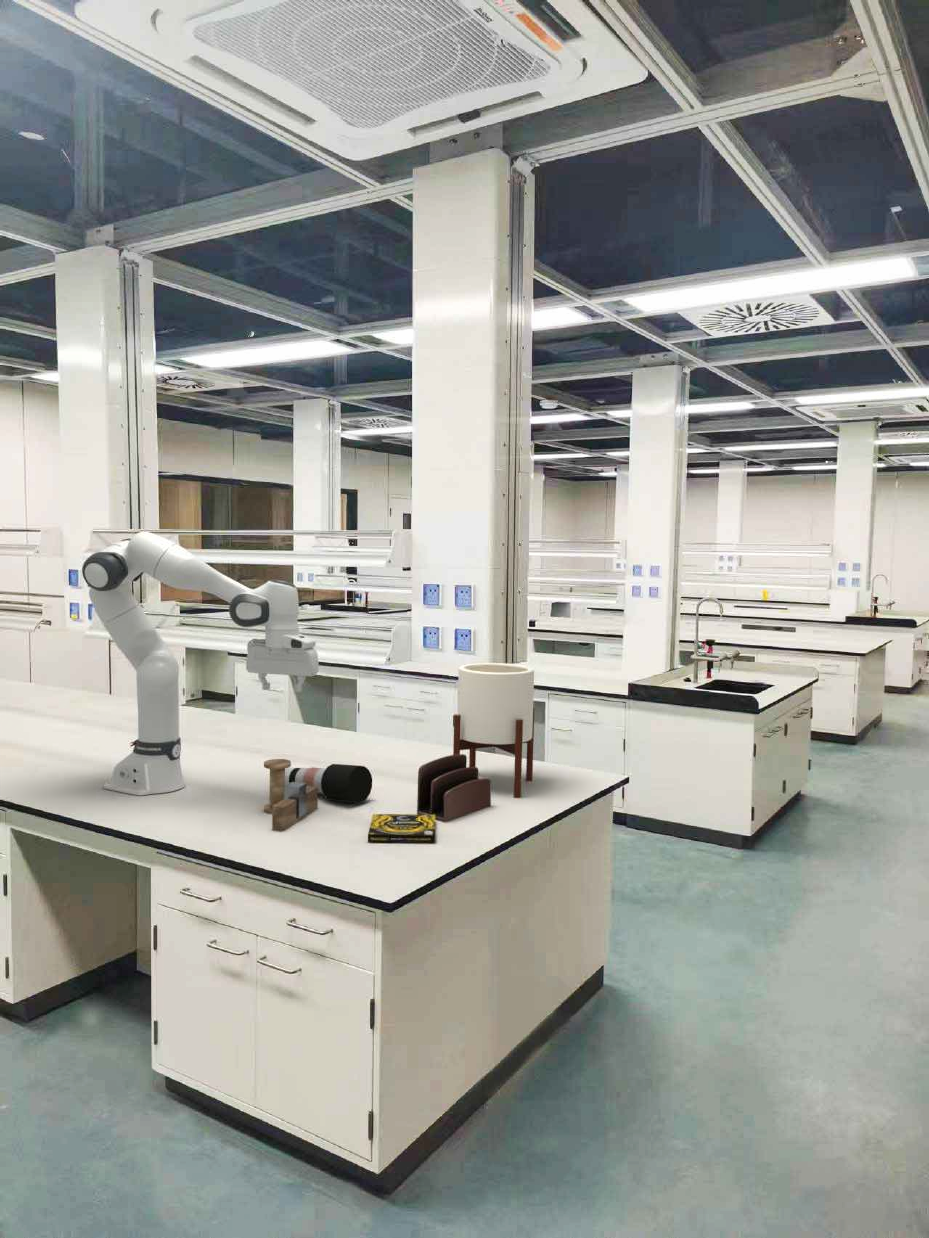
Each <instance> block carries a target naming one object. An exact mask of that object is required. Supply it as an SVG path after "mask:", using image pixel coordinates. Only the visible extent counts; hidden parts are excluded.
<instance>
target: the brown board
mask: <svg viewBox="0 0 929 1238" xmlns="http://www.w3.org/2000/svg"><path fill="white" fill-rule="evenodd" d="M318 795H319V793H318V787H315V786H306V814H305V815H303V816H301V817H300V818H296V800H295V799H284V800H282V801H280V802H279V803H277V804H275V805H274V806H272V814H271V815H272V817H271V818H272V819H271V820H272V821H271V822H272V823H271V827H272V831H279V832H284V831H286V830H287V829H289V828H290V827H292V826H293V825H294V824H295V825H296V824H297V823H298V822H300V821H301V820H303V819H304V818H306V817H308V815H310V814H312V813H313V812H316V810H318V808H319V807H318V804H319V802H318V799H319V798H318V797H319V796H318Z"/></svg>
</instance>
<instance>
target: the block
mask: <svg viewBox="0 0 929 1238" xmlns="http://www.w3.org/2000/svg"><path fill="white" fill-rule="evenodd" d="M285 799H295V800H296V818H300V817H301V816H303V815H305V814H306V783H298V782H291V783H289V784H288V785H286V786H285Z"/></svg>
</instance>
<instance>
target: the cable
mask: <svg viewBox="0 0 929 1238" xmlns="http://www.w3.org/2000/svg"><path fill="white" fill-rule="evenodd" d="M291 782H298V783H306V786H315V787H318V794H322V795H323V796H324V797H325V798H326V799H327V800H330V801H337V802H345V803H346V802H348V803H354V804H355V803H357V804H360V803H363V802H365V801H366V800H367V799H368V798H369V796H370V795H371V792H372V788H373V776H372V773H371V772H370V770H369V768H368V767H366V766H364V765H354V764H353V765H351V764H342V763H340V764H339V763H332V764H330V765H329V766H327V767H326V768H321V767H320V768H319V767H314V766H313V767H291V766H290V767H288V768H285V786H286V785H288V784H289V783H291Z"/></svg>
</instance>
